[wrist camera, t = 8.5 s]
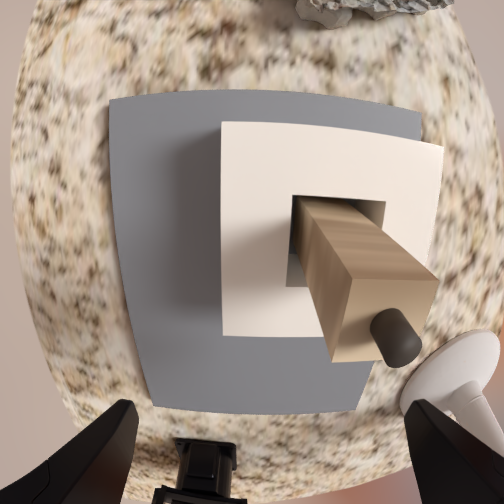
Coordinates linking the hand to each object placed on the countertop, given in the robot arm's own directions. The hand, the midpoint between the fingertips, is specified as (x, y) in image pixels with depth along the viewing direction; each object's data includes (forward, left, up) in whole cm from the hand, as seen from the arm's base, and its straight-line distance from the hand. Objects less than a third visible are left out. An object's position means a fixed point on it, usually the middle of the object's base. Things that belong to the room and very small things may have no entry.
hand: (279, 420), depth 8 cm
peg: (+3, -3, -11) cm, 11 cm away
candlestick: (-13, -20, -12) cm, 27 cm away
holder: (+3, -3, -11) cm, 11 cm away
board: (-2, 0, -12) cm, 12 cm away
